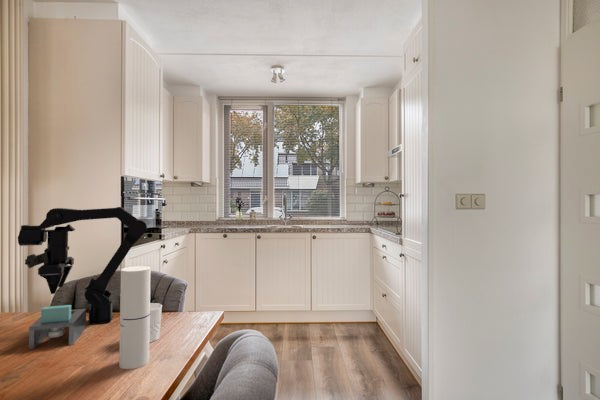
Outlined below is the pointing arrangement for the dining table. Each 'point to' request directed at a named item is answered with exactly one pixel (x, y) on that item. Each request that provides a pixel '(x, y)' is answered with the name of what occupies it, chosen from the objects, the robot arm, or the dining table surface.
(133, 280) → the cylindrical container
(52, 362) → the dining table surface
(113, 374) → the dining table surface
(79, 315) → the grey square frame stand
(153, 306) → the white cup
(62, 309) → the peg
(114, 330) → the dining table surface
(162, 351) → the dining table surface
